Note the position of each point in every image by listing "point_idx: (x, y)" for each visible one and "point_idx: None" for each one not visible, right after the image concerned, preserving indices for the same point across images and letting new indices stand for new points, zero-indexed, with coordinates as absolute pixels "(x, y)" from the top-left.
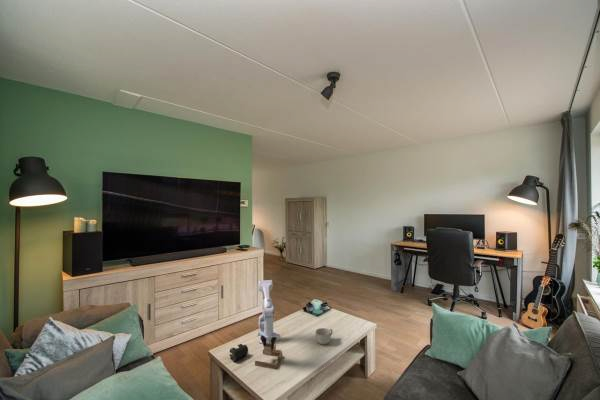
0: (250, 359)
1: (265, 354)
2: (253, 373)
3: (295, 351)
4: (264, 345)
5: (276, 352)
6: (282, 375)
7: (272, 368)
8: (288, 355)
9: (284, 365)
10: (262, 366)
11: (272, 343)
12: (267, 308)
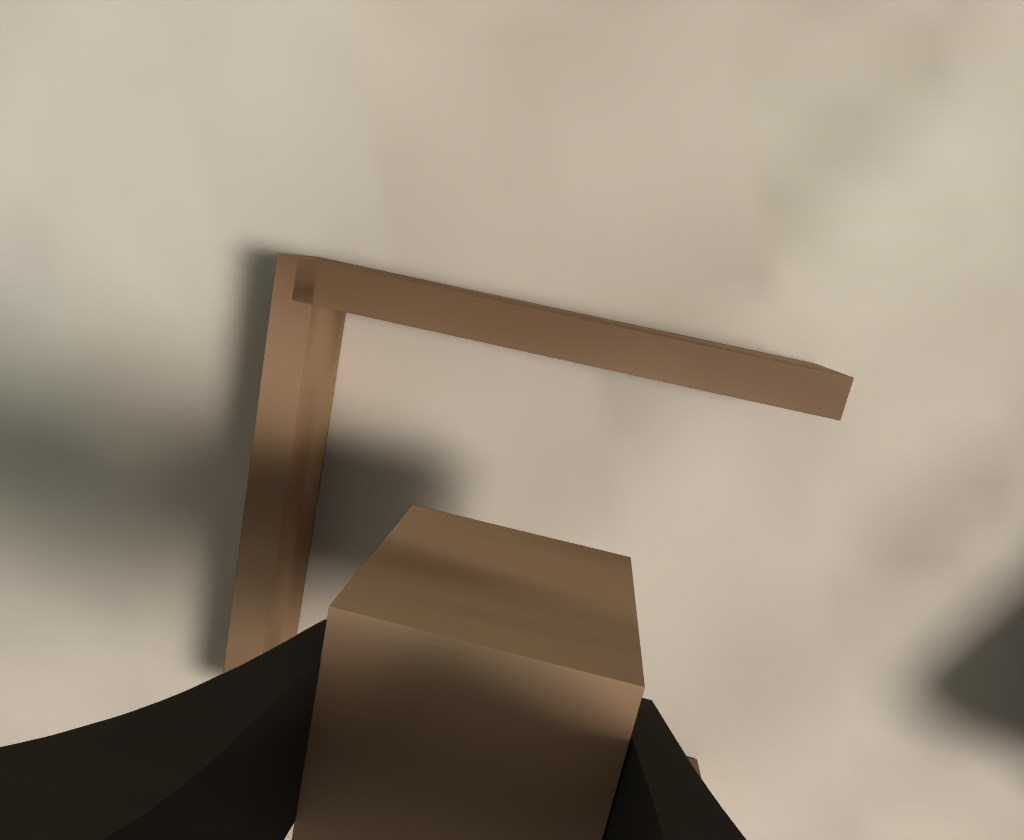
0: (962, 577)
1: None
2: (807, 67)
3: None
4: (638, 753)
5: None
6: (127, 61)
7: (384, 272)
8: None
9: (157, 396)
10: (626, 324)
11: (141, 737)
12: None
